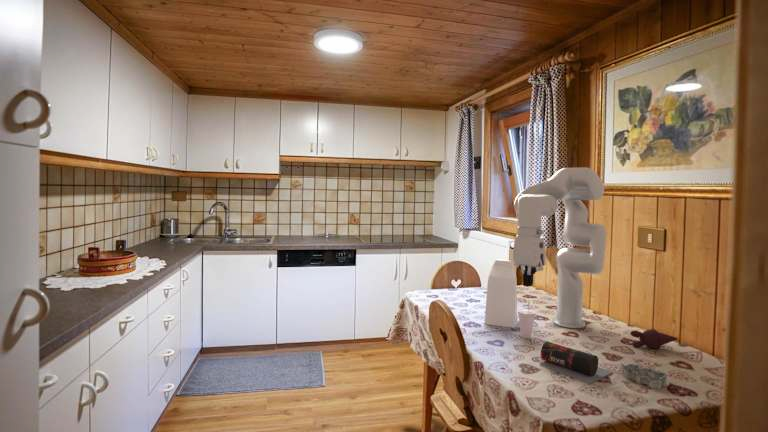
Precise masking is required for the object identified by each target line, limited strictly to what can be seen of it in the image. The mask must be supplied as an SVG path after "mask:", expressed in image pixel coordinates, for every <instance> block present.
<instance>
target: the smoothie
mask: <svg viewBox="0 0 768 432" xmlns="http://www.w3.org/2000/svg"><path fill="white" fill-rule="evenodd" d="M517 315H518V322H519V333H520V335H519V336H520V338H522V339H526V338H529V339H531V338H532V333H533V329H534V328H533V327H534V322H535V317H536V315H537V312H536V311H534V310H532V309H530V299H528V300H527V309H524V308H520V309H517Z"/></svg>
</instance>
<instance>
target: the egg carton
mask: <svg viewBox="0 0 768 432" xmlns="http://www.w3.org/2000/svg"><path fill="white" fill-rule="evenodd" d="M620 366H621V367H622V368H621V369H622V372H621V376H622V375H623V376H622V377H624V379H626V378H627V380H633V381H635V382H636V383H637V384H644V385H647V386H648V388H651V389H658V390H660V389H662V386H664V387H666V386H667V380H668V379H667V378H668V375H669V372H664V371H659V370H656V369H655V368H651V367H649V366H645V365H643V364H641V363H639V362H632V363H628V364H626V365H625V364H624V363H620Z"/></svg>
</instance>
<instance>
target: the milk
mask: <svg viewBox="0 0 768 432" xmlns="http://www.w3.org/2000/svg"><path fill="white" fill-rule="evenodd" d="M517 279H518V278H517V274H516V271H515V267H514V264H513V263H512V261H511V260H510V259H509V260H507V259H495V260H494V263H493V265H492V267H491V270H490V272H489V275H488V279H487V287H486V299H485V300H486V301H485V312H484V313H485V314H484V322H483V323H484V324H485V325H492V326H498V327H505V328H516V326H517V322H518V291H517V288H518V287H517V284H518V283H517V282H518V281H517Z"/></svg>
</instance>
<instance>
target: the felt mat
mask: <svg viewBox="0 0 768 432" xmlns="http://www.w3.org/2000/svg"><path fill="white" fill-rule="evenodd" d="M539 365H540V366H543V367H545V368H548V369H551V370H553V371H556V372H558V373H560V374H563V375H565V376H568V377H570V378H572V379H573V378H574V379H576V380H578V381H580V382H584V383H586V384H588V385H591V384H593V383H596V382H598V381H600V380H602V379H604V378H606V377H608V376H610V375H612V374H613V373H614V372H613V371H611V370H608V369H605V368H602V367H599V366H598V368H597V372H596V374H595V375H594V376H590V375H587V374H584V373H581V372H578V371H575V370H572V369H569V368H566V367H563V366H560V365H557V364H554V363H551V362H548V361H545V360H543V361H542V362H539Z"/></svg>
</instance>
